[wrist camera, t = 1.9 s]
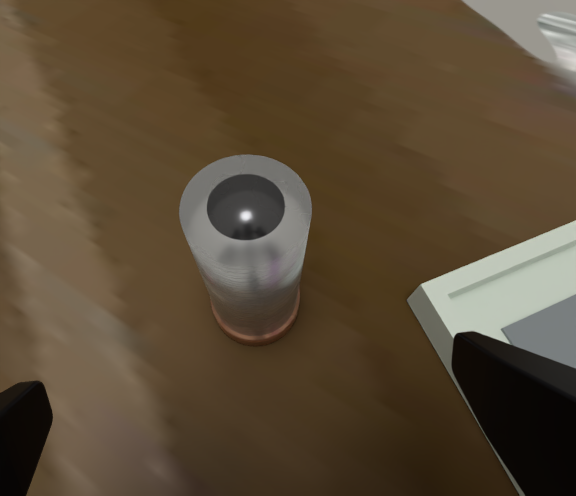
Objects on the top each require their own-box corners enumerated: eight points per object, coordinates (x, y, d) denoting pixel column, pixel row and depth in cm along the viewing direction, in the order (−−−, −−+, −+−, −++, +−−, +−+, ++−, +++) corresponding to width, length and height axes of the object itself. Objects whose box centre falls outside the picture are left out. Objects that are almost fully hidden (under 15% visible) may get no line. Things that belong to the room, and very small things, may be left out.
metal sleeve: (230, 360, 21) (198, 291, 12) (203, 282, 23) (158, 172, 14) (311, 326, 22) (339, 240, 13) (279, 255, 23) (283, 136, 15)
